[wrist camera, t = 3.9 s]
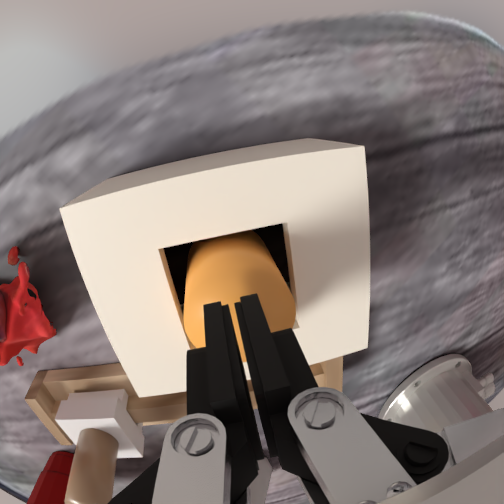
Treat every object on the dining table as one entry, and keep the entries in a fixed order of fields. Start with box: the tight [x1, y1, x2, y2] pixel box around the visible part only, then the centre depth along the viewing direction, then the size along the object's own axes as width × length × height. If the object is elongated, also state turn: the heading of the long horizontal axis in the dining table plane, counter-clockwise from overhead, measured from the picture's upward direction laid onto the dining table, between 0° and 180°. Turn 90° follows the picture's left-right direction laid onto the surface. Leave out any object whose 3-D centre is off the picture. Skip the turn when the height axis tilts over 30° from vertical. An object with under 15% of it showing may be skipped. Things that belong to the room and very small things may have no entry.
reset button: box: [183, 230, 296, 362], centre depth 13 cm, size 4×4×5 cm
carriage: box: [55, 389, 145, 504], centre depth 17 cm, size 5×5×9 cm
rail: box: [25, 356, 343, 445], centre depth 22 cm, size 24×6×4 cm, turn 99°
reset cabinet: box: [59, 138, 370, 398], centre depth 16 cm, size 12×10×7 cm
